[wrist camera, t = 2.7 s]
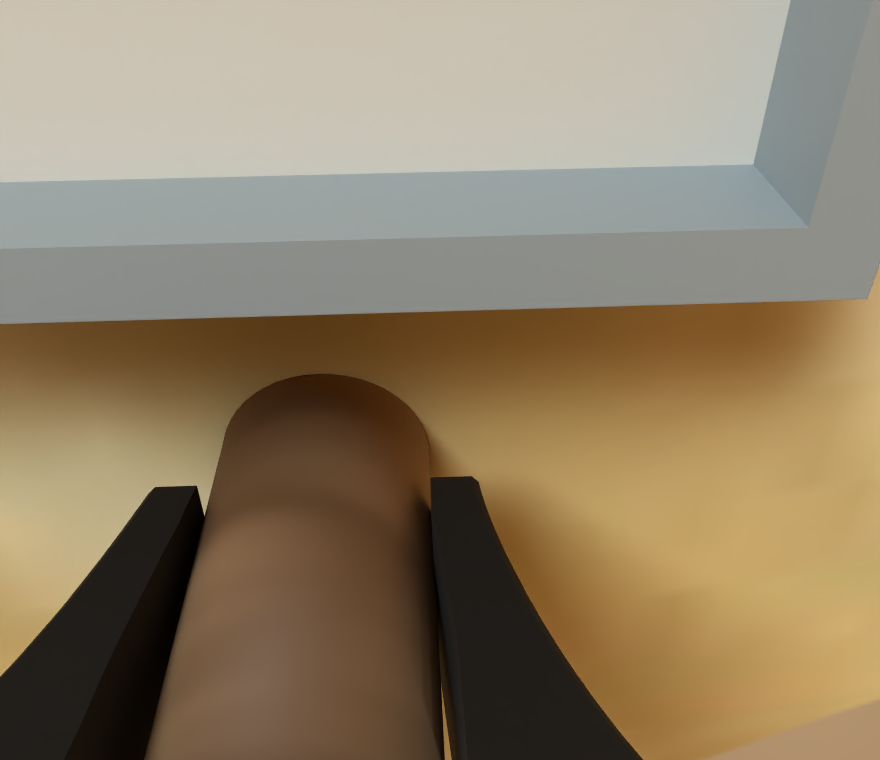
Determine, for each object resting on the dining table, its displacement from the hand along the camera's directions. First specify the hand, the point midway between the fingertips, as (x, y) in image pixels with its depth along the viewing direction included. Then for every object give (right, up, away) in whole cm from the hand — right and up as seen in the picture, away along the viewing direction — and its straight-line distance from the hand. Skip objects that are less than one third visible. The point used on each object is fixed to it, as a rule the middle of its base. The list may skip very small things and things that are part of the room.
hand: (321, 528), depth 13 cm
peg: (0, +1, +1) cm, 2 cm away
